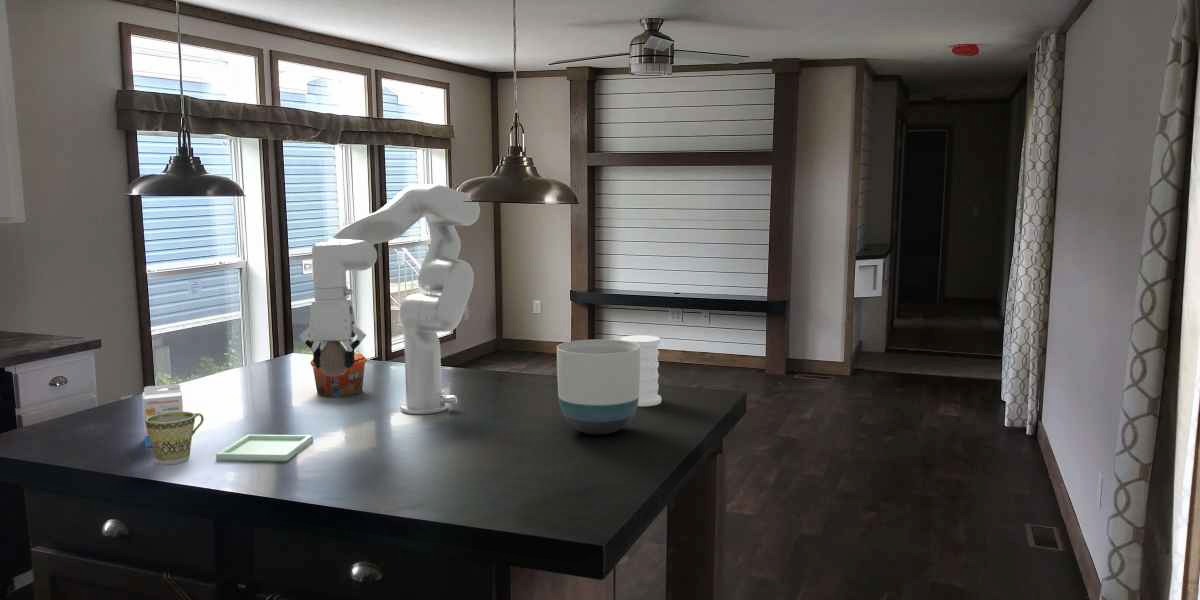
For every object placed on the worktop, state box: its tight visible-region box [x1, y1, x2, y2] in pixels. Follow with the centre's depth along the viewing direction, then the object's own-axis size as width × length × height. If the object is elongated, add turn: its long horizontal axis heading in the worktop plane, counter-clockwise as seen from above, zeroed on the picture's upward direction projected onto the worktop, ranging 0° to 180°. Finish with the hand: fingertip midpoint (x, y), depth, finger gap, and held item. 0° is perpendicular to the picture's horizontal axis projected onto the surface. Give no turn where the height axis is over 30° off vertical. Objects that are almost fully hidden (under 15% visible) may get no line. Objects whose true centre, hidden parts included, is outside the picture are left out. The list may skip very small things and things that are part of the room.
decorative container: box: [620, 334, 662, 407], centre depth 255 cm, size 12×12×18 cm
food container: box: [310, 352, 368, 398], centre depth 268 cm, size 16×16×11 cm
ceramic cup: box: [145, 411, 205, 466], centre depth 204 cm, size 13×10×10 cm
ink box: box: [142, 383, 184, 448], centre depth 218 cm, size 9×8×13 cm
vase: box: [319, 341, 348, 376], centre depth 220 cm, size 7×7×9 cm
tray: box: [215, 433, 314, 462], centre depth 210 cm, size 16×16×2 cm
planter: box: [556, 339, 640, 436], centre depth 223 cm, size 20×20×21 cm
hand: (334, 366), depth 220 cm, fingers closed on vase, 6 cm apart
